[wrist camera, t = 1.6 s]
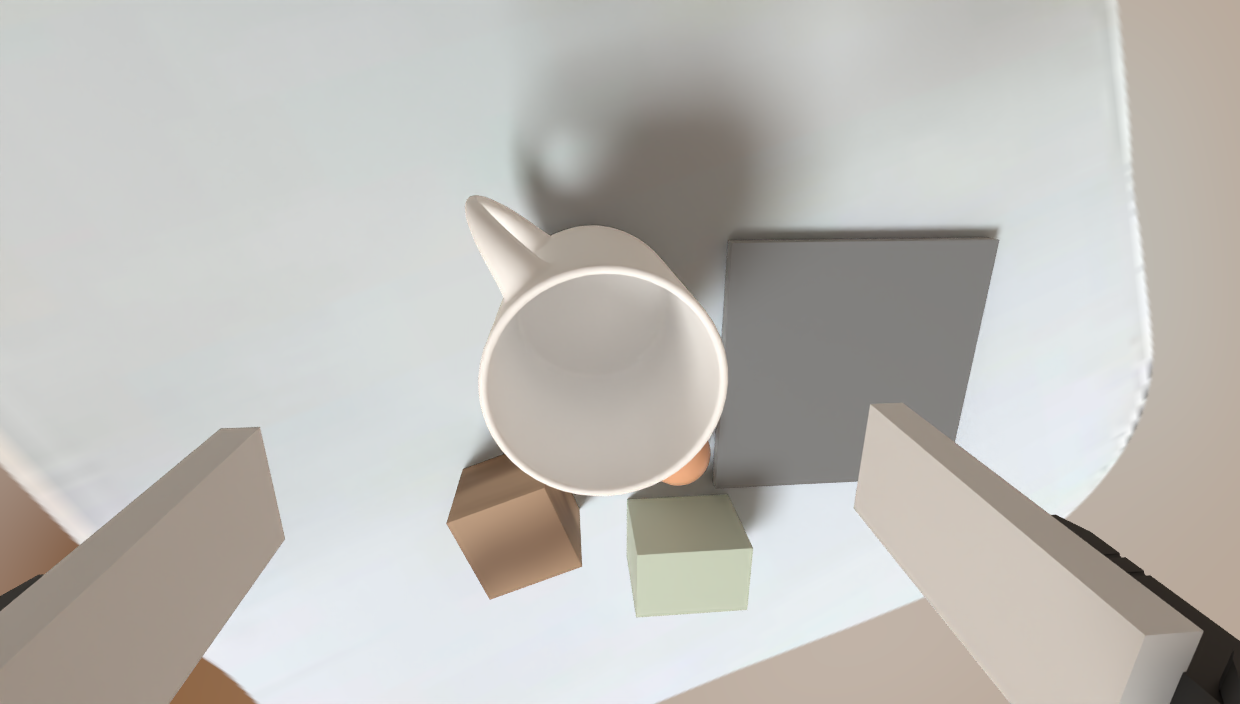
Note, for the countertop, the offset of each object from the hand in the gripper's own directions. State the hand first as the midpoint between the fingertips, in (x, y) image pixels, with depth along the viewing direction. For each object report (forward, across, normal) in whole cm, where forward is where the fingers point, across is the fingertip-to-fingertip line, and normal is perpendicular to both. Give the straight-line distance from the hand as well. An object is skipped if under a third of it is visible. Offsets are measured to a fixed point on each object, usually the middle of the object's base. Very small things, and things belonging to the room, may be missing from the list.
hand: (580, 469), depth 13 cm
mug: (+18, 0, 0) cm, 18 cm away
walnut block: (+18, -3, -12) cm, 22 cm away
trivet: (+18, +15, -5) cm, 24 cm away
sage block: (+18, +6, -15) cm, 24 cm away
